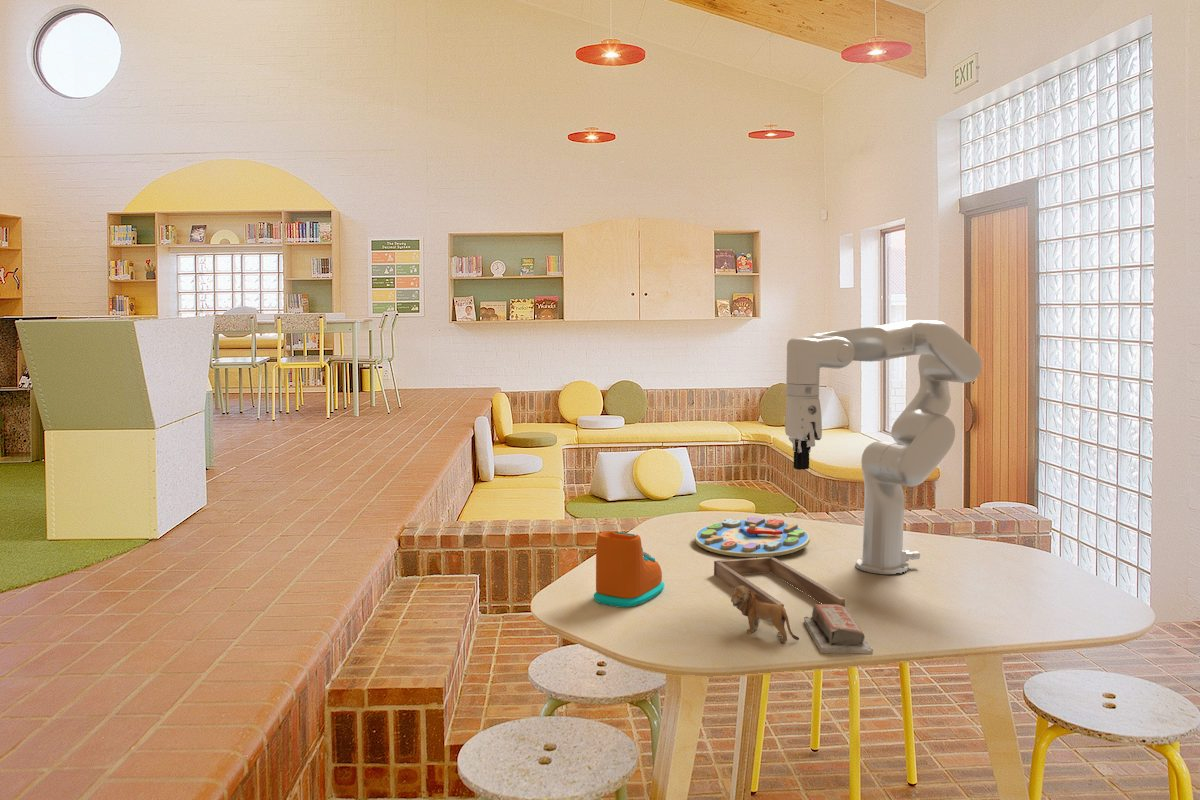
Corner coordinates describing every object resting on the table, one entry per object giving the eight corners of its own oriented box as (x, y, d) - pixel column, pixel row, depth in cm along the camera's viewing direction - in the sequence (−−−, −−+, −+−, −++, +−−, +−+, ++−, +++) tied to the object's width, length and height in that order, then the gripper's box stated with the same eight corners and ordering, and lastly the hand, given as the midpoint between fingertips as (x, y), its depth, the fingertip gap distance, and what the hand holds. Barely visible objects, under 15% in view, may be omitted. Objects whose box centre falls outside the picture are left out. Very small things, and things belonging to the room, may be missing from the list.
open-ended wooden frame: (772, 570, 244) (772, 556, 243) (844, 615, 210) (845, 598, 210) (714, 575, 239) (714, 560, 239) (778, 621, 206) (778, 604, 206)
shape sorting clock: (672, 547, 266) (672, 525, 266) (734, 527, 289) (734, 507, 289) (771, 568, 247) (771, 545, 246) (829, 545, 270) (830, 523, 269)
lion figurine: (726, 630, 200) (727, 587, 199) (738, 623, 205) (739, 581, 204) (793, 646, 192) (794, 600, 191) (805, 638, 196) (806, 594, 195)
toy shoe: (673, 588, 229) (674, 524, 227) (633, 611, 212) (633, 543, 210) (627, 580, 235) (627, 518, 233) (584, 602, 218) (584, 535, 216)
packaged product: (803, 601, 205) (851, 601, 205) (802, 624, 206) (850, 624, 206) (821, 630, 187) (874, 631, 187) (820, 655, 188) (873, 656, 188)
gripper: (833, 393, 224) (831, 473, 226) (801, 387, 239) (800, 462, 241) (803, 394, 222) (801, 475, 224) (773, 388, 236) (772, 464, 239)
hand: (801, 468), depth 232 cm, fingers closed
